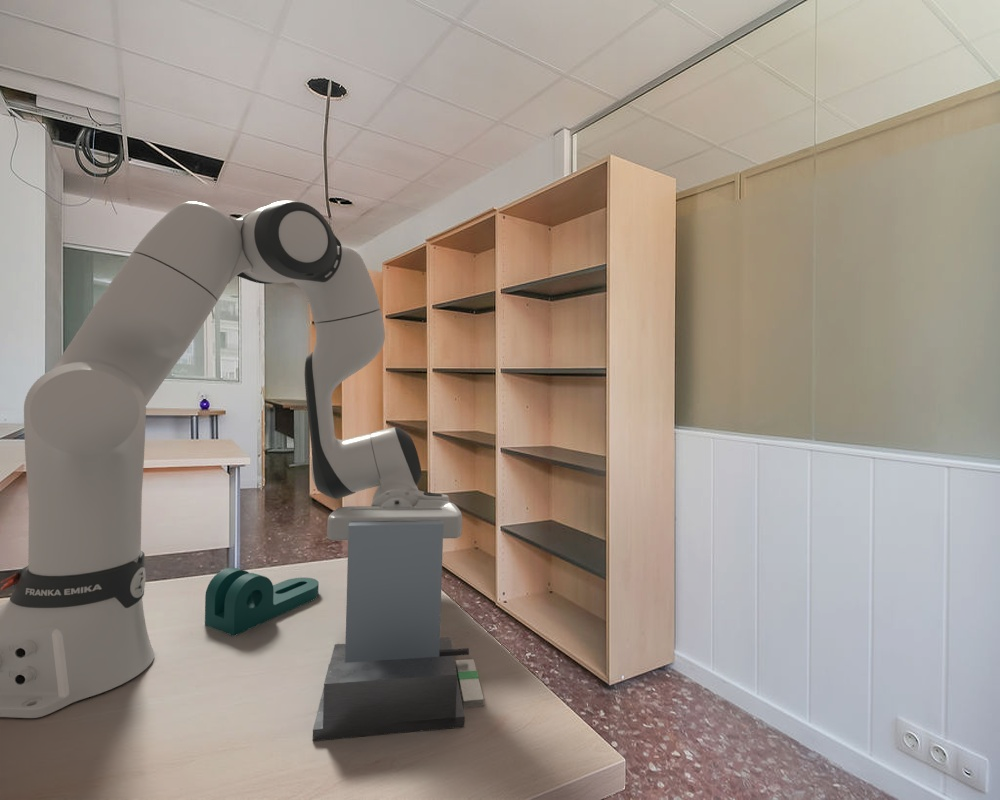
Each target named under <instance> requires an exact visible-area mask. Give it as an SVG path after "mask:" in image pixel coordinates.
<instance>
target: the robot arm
mask: <svg viewBox="0 0 1000 800" xmlns="http://www.w3.org/2000/svg"><path fill="white" fill-rule="evenodd" d="M236 277H238V278H241V279H244V280H246V281H249V282H252V283H258V284H264V285H265V284H266V285H270V284H288V283H293V284H294V285H296V286H297V287H298V288H299V289H300V290H301V291H302V293H303V294H304V296H305V297H306V300H307V302H308V303H309V308H310V312H311V316H312V320H313V322H314V327H315V328H314V329H315V344H314V348H313V350H312V352H311V353H310V354H309V355H307V356H306V359H305V362H304V363H305V364H304V387H305V388H304V389H305V397H306V398H305V399H306V410H307V418H308V427H309V428H308V429H309V437H310V445H311V447H310V448H311V468H310V469H311V477H312V480H313V484H314V486H315V487H316V490H317V491H318V492H319V493H321V494H323V495H324V496H326V497H329V498H331V499H334V500H340V499H342V498H345V497H348V496H350V495H353V494H355V493H356V492H357V493H358V492H361V491H364V490H368V489H371V488H375V487H376V489H375V491H374V493H373V496H372V501H371V504H370V505H366V506H365V505H364V506H363V505H361V506H360V505H358V506H357V505H355V506H354V505H352V506H350V505H349V506H340V507H338V508H336V509H335V510H333V511H332V512H331V513H330V514H329V515H328V517H327V523H326V525H327V526H326V531H327V532H326V536H327V539H329V540H331V541H348V528H349V523H351V522H416V521H443V539H458V538H460V537H461V536H462V532H463V514H462V511H461V510H460V508H459V507H458V506H457V505H456V504H455V503H453V502H451V501H450V496H449V495H448V494H442V493H438V492H437V493H435V492H429V491H423V490H421V489H420V490H419V488H418V485H419V483H420V481H421V479H422V476H423V475H422V466H421V463H420V456H419V454H418V451H417V448H416V446H415V443H414V440H413V439H412V437H411V436H410V435H411V434H408V433H407V432H406V431H405V430H403V429H402V428H399V427H397V426H394V427H389V428H385V429H380V430H376V431H373V432H372V431H371V432H370V433H366V434H362V435H359V436H354V437H350V438H344V439H339V438H337V437H336V434H335V423H334V413H333V412H334V411H333V402H332V398H333V397H332V396H333V393H334V391H335V389H336V388H337V387H338V386H339V385H340V384H341V383H342V382H343V381H345V380H347V379H348V378H349V377H351V376H353V375H354V374H355V373H357V372H359V371H360V370H362V369H363V368H364V367H366V366H368V365H369V364H370V363H371V362H372V361H374V359H375V358H376V357H377V356H378V354H379V353H380V352H381V350H382V348H383V346H384V343H385V340H386V332H385V324H384V318H383V314H382V310H381V304H380V301H379V299H378V294H377V292H376V288H375V286H374V283H373V281H372V278H371V275H370V272H369V271H368V268H367V266H366V264H365V262H364V259H363V258H362V256H361V255H360V253H358V251H355V250H354V249H352V248H349V247H346V246H343V245H342V243H341V241H340V240H339V238H337V236H336V235H335V233H334V231H333V229H332V227H331V225H330V223H329V222H328V220H326V218H325V217H324V216H323V215H322V213H321V212H319V210H318V209H316V208H314V207H313V206H311V205H310V204H308V203H305V202H303V201H302V202H301V201H297V200H280V201H276V202H272V203H271V204H268V205H266V206H262V207H259V208H256V209H254V210H251V211H250V212H248V213H246V214H244V215H242V216H240V217H238V218H233V217H231V216H228V215H226V214H225V213H224V212H223V211H221V210H219V209H218V208H216V207H213V205H212V206H211V205H209V204H207V203H204V202H198V201H185V202H182V203H179V204H178V205H176V206H174V207H173V208H172V209H171V210H170V211H169V212H167V213H166V214H165V215H164V216H163V217H162V218H160V220H159V221H158V222H156V223H155V224H154V226H152V228H151V229H150V230H149V231H148V232H147V233H146V234H145V235H144V237H143V238H142V239H141V241H139V242H138V244H137V246H136V247H135V248H134V249H133V251H132V252H131V253H130V254H129V256H128V258H127V260H126V261H125V262H124V263H123V265H122V266H121V268H119V270H118V272H117V273H116V275H115V276H114V277H113V279H112V280H111V282H110V283H109V284H108V285H107V287H106V288H105V290H104V291H103V293H102V294H101V296H99V298H98V300H97V301H96V303H95V304H94V305H93V307H92V308H91V310H90V312H89V314H88V315H87V317H86V318H85V320H84V321H83V323H82V325H81V326H80V327H79V329H78V331H76V334H75V335H74V337H73V339H71V341H70V343H69V344H68V345H67V347H66V349H65V350H64V352H63V353H62V354H61V356H60V357H59V359H58V360H57V362H56V363H55V365H54V366H53V367H52V369H50V370H49V371H47V372H46V373H44V374H43V375H41V376H40V377H39V378H38V379H36V381H35V382H34V383H33V384H32V385H31V387H30V388H29V389H28V392H27V394H26V396H25V398H24V399H25V400H24V404H23V424H24V425H23V430H24V432H23V433H24V453H25V454H24V455H25V456H24V458H25V471H26V473H25V474H26V486H27V496H28V497H27V498H28V499H27V500H28V548H27V549H28V554H27V555H28V556H27V557H28V561H27V562H28V565H27V566H25V567H23V568H21V569H19V570H16V571H15V572H14V574H13V575H11V576H9V577H7V578H5V579H3V580H1V581H0V583H1V584H3V583H4V584H3V586H1V588H0V590H1V591H4V590H7V589H9V588H10V587H12V586H13V590H12V593H11V595H10V597H9V599H8V600H6V601H5V602H4V603H2V604H1V605H0V718H18V719H19V718H20V719H21V718H22V719H36V718H41V717H45V716H47V715H49V714H52V713H54V712H56V711H58V710H60V709H63V708H65V707H66V706H68V705H71V704H73V703H76V702H78V701H81V700H84V699H87V698H89V697H94V696H96V695H99V694H102V693H104V692H107V691H110V690H113V689H114V688H116V687H119V686H121V685H124V684H125V683H127V682H129V681H130V680H132V679H134V678H135V677H137V676H139V675H140V674H141V673H143V672H144V671H145V670H146V669H147V668H148V667H149V666H150V665H151V664H152V662H153V661H154V658H155V651H154V648H153V646H152V643H151V640H150V637H149V633H148V629H147V623H146V619H145V611H144V604H143V597H144V595H145V588H146V587H145V586H146V577H147V576H146V575H147V574H146V561H145V559H146V558H145V557H146V555H145V552H143V551H142V505H143V504H142V499H143V498H142V497H143V481H144V480H143V479H144V461H145V446H146V445H145V442H146V423H147V422H146V420H147V418H146V417H147V416H146V414H147V405H148V404H149V402H150V401H151V400H152V398H153V396H154V395H155V394H156V392H157V390H158V389H159V388H160V386H161V385H162V384H163V382H164V381H165V379H166V378H167V377H168V376H169V374H170V372H171V371H172V370H173V369H174V367H175V366H176V365H177V363H178V362H179V360H180V359H181V358H182V356H183V355H184V354H185V352H186V351H187V349H188V348H189V346H190V345H191V343H192V342H193V340H194V339H195V338H196V336H197V334H198V333H199V331H200V329H201V328H202V327H203V325H204V323H205V322H206V320H207V318H208V317H209V315H210V314H211V312H212V311H213V309H214V307H215V306H216V305H217V302H218V301H219V300H220V298H221V296H222V295H223V293H224V291H225V289H226V288H227V286H228V284H230V283H231V282H232V281H233V280H234V278H236Z"/></svg>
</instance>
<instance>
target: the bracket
mask: <svg viewBox="0 0 1000 800" xmlns="http://www.w3.org/2000/svg"><path fill="white" fill-rule="evenodd" d="M317 596H319V581H318V579H315V578H312V577H295V578H289V579H286V580H283V581H280V582H278V583H275V584H273V582H272V580H270V578H268V577H267V576H265V575H260V574H258V573H253V572H249V571H247V570H244V569H241V568H237V567H227V568H226V567H225V568H224V569H221V571H218V572H217V573H216V574H215V575H214V577H213V578H212V579H211V580H210V581H209V583H208V586H207V588H206V591H205V598H204V602H205V603H204V606H205V607H204V626H206V627H209V628H212V629H214V630H217V631H220V632H223V633H225V634H227V635H229V636H232V637H235V636H237V635H240V634H241V633H244V632H246V631H248V630H250V629H253V628H255V627H258V626H260V625H261V624H263V623H266V622H269V621H271V620H273V619H274V618H277V617H280V616H281V615H283V614H286V613H287V612H290V611H292V610H294V609H296V608H299V607H300V605H301V606H304V605H305V603H306V604H308V603H310V602H312V601H314V600H316V599H317V598H318V597H317ZM316 597H317V598H316ZM315 598H316V599H315ZM313 599H314V600H313ZM311 600H312V601H311ZM309 601H310V602H309ZM307 602H308V603H307Z"/></svg>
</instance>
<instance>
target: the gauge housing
mask: <svg viewBox="0 0 1000 800" xmlns="http://www.w3.org/2000/svg"><path fill="white" fill-rule="evenodd" d="M345 644H346V643H335V644H334V646H333V649H332V653H331V654H332V655H331V658H330V661H329V664H328V667H327V669H326V670H327V671H326V675H325V678H324V679H325V680H324V682H323V687H322V688H323V689H322V693H321V697H320V701H319V705H318V708H317V713H316V716H315V720H314V724H313V728H312V742H316V741H326V740H327V741H329V740H338V739H339V740H340V739H349V738H350V739H351V738H359V737H360V738H362V737H373V736H383V735H393V734H404V733H415V732H427V731H437V730H438V731H439V730H447V729H448V730H449V729H458V728H461V729H462V728H465V723H466V722H465V720H466V719H465V718H466V717H465V716H466V715H465V711H464V710H465V709H464V708H472V707H474V708H475V707H484V703H485V701H484V700H485V699H484V695H483V690H482V687H481V684H480V679H479V673H478V670H477V667H476V663H475V660H474V658H472V659H456V660H455V656H441V657H425V658H409V659H394V660H378V661H363V662H347V663H345ZM447 649H453V647H452V641H451V638H450V637H440V649H439V650H447Z"/></svg>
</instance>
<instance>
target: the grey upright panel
mask: <svg viewBox="0 0 1000 800" xmlns="http://www.w3.org/2000/svg"><path fill="white" fill-rule="evenodd" d="M347 543H348V544H347V569H346V570H347V571H346V572H347V573H346V575H347V576H346V582H347V583H346V607H345V608H346V610H345V611H346V612H345V614H346V615H345V643H344V644H345V663H347V662H363V661H378V660H394V659H409V658H425V657H441V656H454V657H457V656H469V655H470V648H468V647H467V648H466V647H464V648H452V649H447V650H439V649H440V638H441V612H442V611H441V609H442V584H443V583H442V580H443V550H444V549H443V547H444V546H443V545H444V538H443V521H416V522H351V523H349V528H348V540H347Z"/></svg>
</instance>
